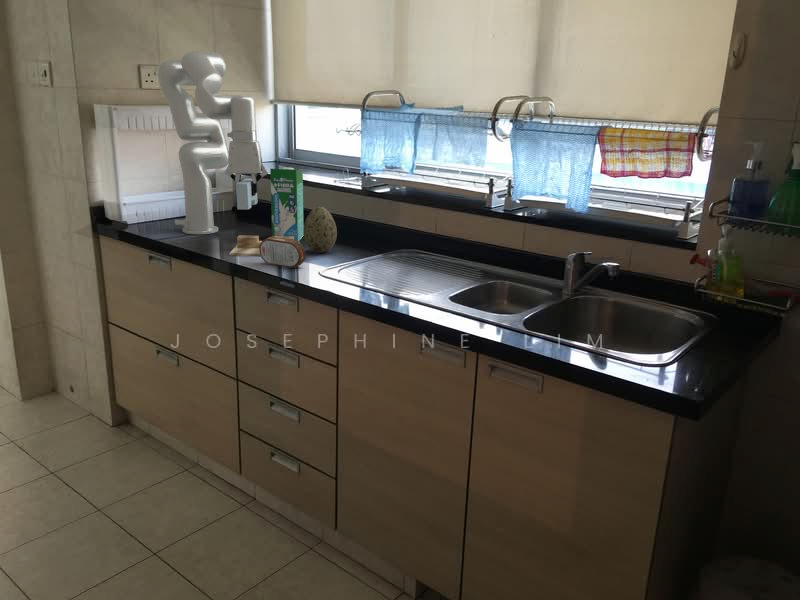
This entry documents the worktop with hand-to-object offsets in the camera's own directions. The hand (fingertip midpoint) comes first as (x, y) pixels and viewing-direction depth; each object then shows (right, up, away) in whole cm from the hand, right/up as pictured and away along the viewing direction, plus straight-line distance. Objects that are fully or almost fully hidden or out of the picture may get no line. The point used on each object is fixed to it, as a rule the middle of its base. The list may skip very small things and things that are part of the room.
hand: (247, 194), depth 220 cm
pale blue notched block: (0, -3, +1) cm, 4 cm away
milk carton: (+10, -12, +22) cm, 27 cm away
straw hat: (+5, -17, +5) cm, 19 cm away
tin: (+13, -24, -13) cm, 30 cm away
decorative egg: (+23, -18, +4) cm, 30 cm away
